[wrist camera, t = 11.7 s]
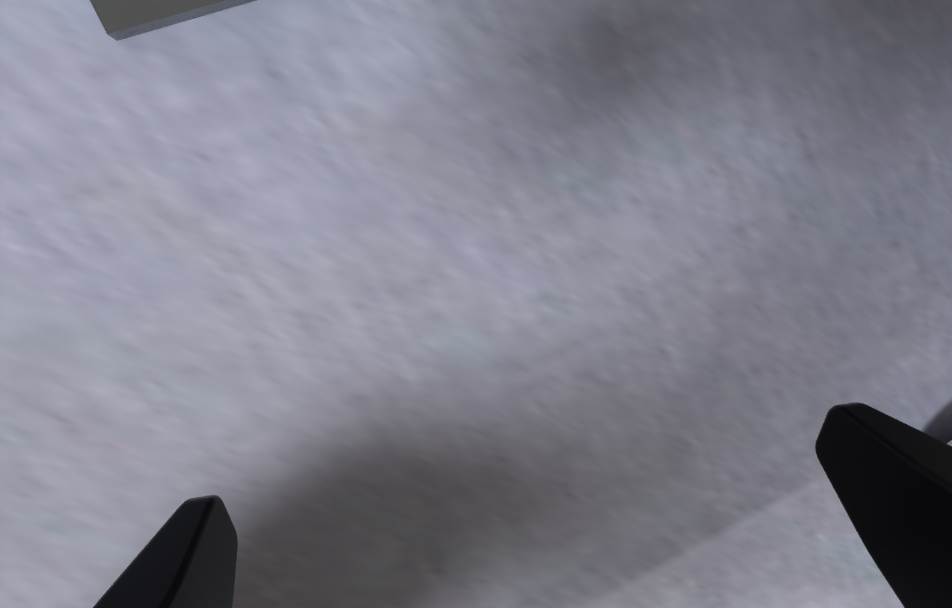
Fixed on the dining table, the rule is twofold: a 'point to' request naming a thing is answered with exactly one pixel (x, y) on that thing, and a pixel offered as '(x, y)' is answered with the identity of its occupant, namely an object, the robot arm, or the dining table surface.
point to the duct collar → (153, 13)
